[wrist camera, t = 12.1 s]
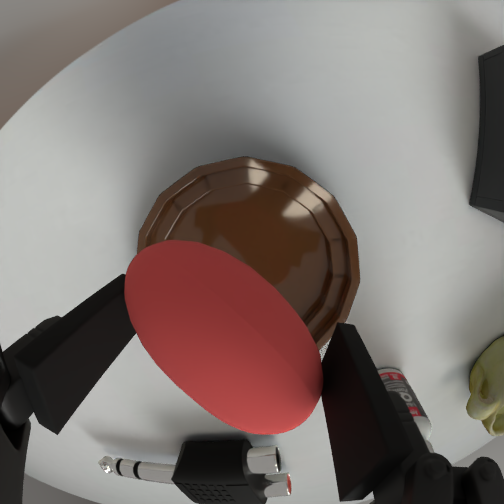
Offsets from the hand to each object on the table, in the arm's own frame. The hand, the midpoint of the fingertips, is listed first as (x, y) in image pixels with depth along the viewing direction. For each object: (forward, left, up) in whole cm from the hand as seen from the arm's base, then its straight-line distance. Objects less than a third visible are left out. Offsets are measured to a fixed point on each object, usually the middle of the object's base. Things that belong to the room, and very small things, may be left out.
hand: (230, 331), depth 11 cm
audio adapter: (+26, -3, -9) cm, 28 cm away
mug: (+6, +28, -9) cm, 30 cm away
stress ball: (0, 0, -1) cm, 1 cm away
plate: (0, 0, -9) cm, 9 cm away
